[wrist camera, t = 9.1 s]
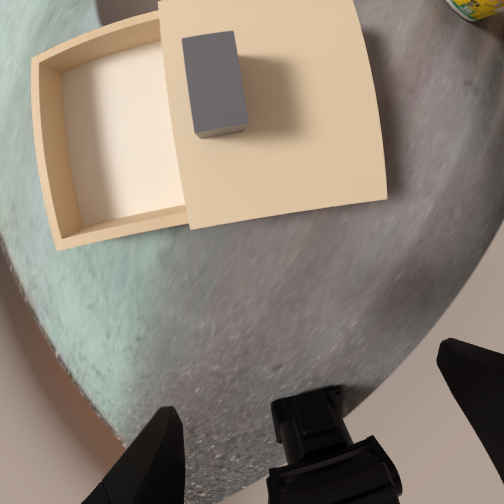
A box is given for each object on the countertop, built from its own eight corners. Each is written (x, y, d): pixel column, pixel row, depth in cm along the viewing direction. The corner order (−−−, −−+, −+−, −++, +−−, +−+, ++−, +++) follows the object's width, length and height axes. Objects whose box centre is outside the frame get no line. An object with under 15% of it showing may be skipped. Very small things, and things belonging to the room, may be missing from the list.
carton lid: (382, 197, 15) (419, 209, 12) (191, 227, 15) (183, 247, 11) (346, -5, 11) (372, -32, 8) (159, 5, 11) (146, -27, 7)
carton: (224, 206, 18) (225, 216, 15) (80, 235, 18) (56, 251, 14) (197, 27, 14) (193, 3, 11) (57, 70, 14) (31, 58, 11)
